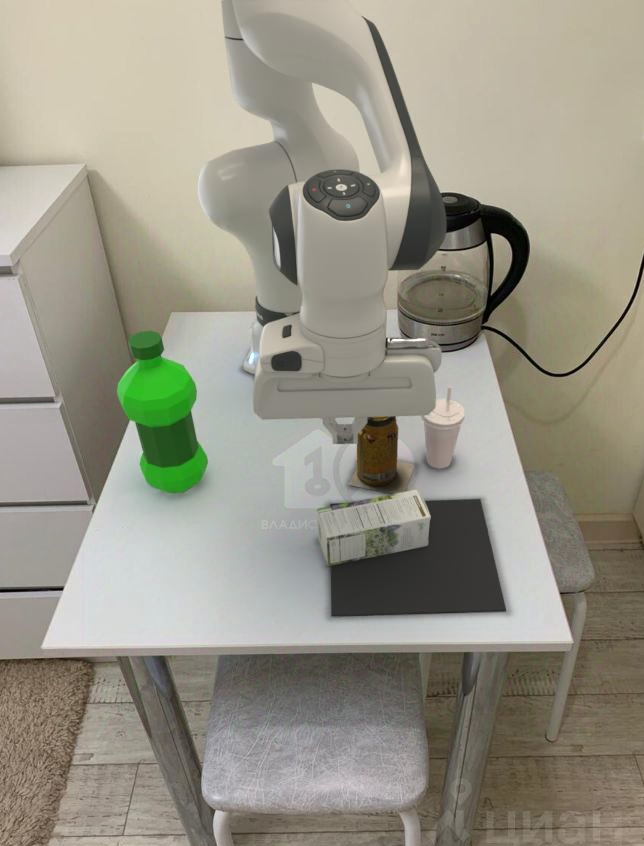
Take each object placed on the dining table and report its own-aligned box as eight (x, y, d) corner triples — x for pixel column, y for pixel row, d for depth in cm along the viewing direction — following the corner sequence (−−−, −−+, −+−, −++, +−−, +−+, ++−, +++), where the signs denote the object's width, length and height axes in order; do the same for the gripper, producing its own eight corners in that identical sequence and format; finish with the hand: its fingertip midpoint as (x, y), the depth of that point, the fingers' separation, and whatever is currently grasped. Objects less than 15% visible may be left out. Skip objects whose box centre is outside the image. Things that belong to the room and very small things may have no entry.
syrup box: (317, 537, 101) (416, 516, 103) (328, 568, 96) (430, 545, 99) (315, 508, 97) (418, 487, 99) (326, 539, 93) (433, 516, 95)
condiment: (362, 455, 114) (362, 393, 106) (414, 465, 112) (418, 402, 104) (348, 485, 109) (346, 423, 101) (403, 497, 107) (406, 433, 99)
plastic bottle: (187, 513, 105) (153, 369, 88) (130, 491, 109) (86, 349, 92) (225, 471, 112) (201, 329, 95) (170, 452, 115) (136, 312, 98)
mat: (329, 504, 106) (329, 503, 106) (480, 500, 106) (480, 498, 106) (331, 616, 91) (331, 615, 91) (505, 611, 91) (506, 609, 91)
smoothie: (457, 476, 110) (466, 402, 100) (415, 471, 111) (420, 397, 101) (461, 449, 114) (470, 376, 105) (420, 445, 115) (425, 371, 106)
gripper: (439, 321, 78) (430, 421, 87) (249, 325, 78) (260, 425, 87) (447, 354, 73) (436, 456, 83) (244, 359, 73) (257, 460, 82)
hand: (345, 440), depth 85 cm, fingers closed
